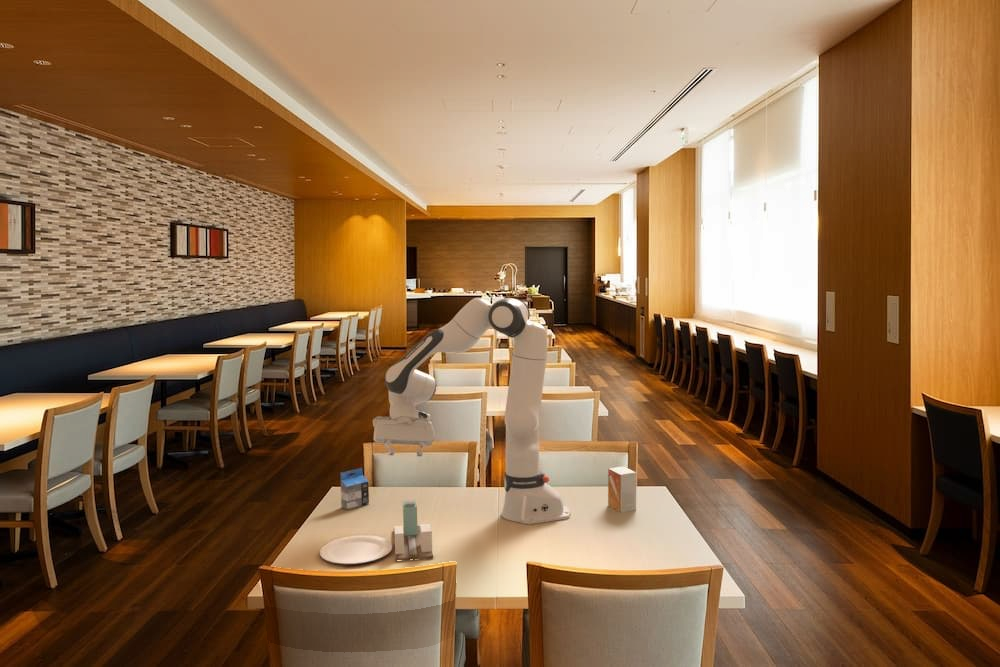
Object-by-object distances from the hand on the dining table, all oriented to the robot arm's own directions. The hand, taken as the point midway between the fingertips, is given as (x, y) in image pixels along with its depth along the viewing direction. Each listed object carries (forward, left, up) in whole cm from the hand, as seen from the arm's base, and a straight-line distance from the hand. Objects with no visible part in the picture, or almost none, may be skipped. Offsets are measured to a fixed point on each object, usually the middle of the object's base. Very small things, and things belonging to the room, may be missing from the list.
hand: (405, 455), depth 244 cm
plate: (+16, +25, -22) cm, 37 cm away
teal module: (0, +16, -20) cm, 25 cm away
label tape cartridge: (+17, -16, -22) cm, 32 cm away
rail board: (0, +22, -21) cm, 31 cm away
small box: (-72, +4, -22) cm, 75 cm away
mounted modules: (-1, +28, -20) cm, 35 cm away
